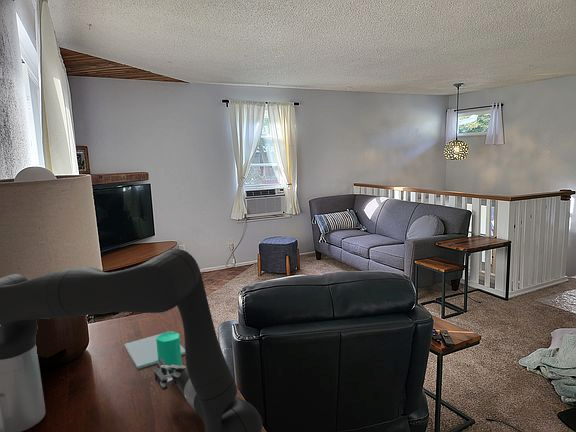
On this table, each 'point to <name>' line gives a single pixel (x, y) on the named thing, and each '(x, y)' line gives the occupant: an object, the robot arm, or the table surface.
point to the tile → (145, 351)
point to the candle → (169, 348)
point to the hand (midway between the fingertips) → (177, 356)
